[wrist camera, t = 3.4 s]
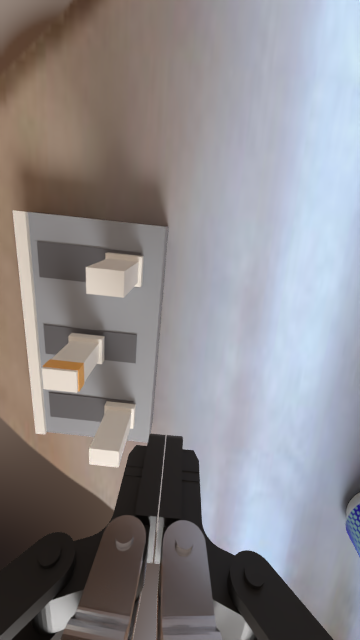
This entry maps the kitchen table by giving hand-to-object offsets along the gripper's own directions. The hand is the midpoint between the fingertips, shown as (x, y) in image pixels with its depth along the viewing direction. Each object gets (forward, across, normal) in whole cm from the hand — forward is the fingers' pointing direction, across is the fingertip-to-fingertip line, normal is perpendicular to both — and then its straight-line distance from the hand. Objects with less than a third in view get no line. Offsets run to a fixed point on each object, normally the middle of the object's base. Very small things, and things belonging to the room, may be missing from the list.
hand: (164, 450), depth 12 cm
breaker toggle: (+9, +6, -1) cm, 11 cm away
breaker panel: (+12, +6, -1) cm, 13 cm away
